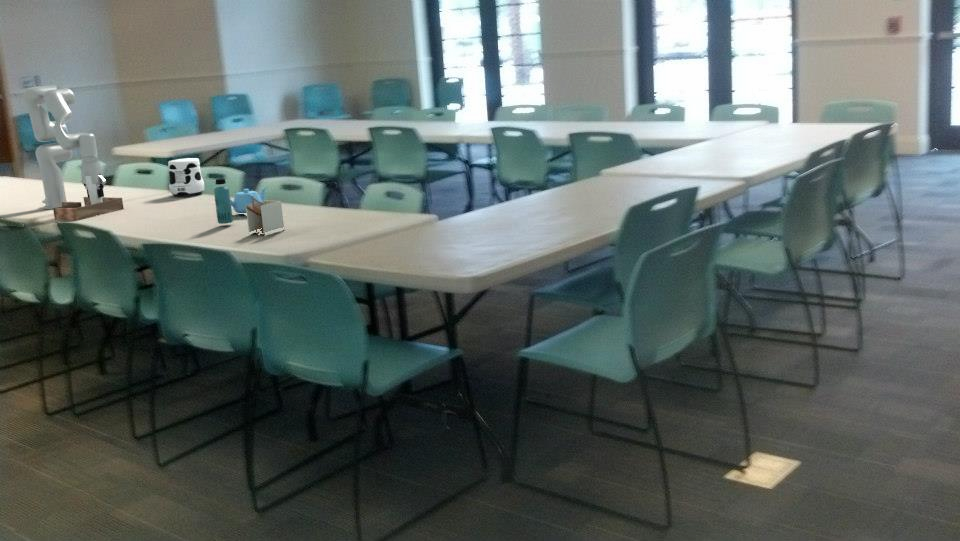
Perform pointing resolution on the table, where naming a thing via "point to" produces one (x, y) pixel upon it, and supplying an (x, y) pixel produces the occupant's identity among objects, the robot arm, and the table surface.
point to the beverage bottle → (223, 203)
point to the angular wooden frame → (87, 208)
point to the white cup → (92, 191)
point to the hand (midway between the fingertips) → (96, 196)
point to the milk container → (185, 177)
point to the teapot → (246, 199)
